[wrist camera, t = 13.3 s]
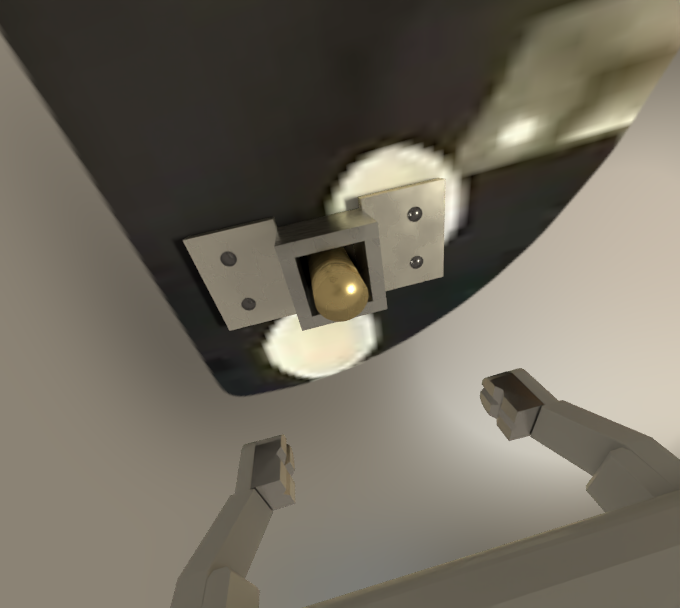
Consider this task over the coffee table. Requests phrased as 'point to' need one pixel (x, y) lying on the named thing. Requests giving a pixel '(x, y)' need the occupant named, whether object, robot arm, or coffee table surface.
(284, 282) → the hinge
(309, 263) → the hinge pin
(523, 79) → the coffee table surface
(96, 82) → the coffee table surface
